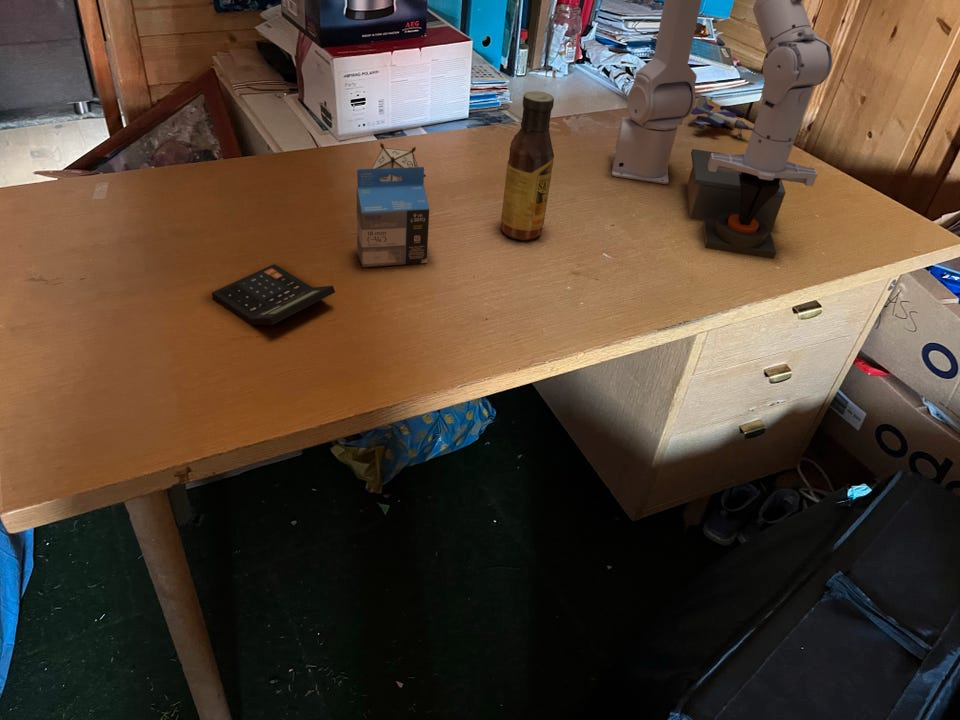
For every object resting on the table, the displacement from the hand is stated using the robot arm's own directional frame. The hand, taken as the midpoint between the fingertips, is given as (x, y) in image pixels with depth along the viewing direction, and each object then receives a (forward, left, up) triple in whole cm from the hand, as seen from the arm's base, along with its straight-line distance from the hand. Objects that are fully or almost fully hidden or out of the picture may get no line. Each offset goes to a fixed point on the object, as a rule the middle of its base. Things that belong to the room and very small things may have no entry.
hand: (743, 221), depth 111 cm
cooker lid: (-1, +11, +2) cm, 11 cm away
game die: (-52, -3, -4) cm, 52 cm away
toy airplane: (+1, +44, -4) cm, 44 cm away
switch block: (0, 0, -3) cm, 3 cm away
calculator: (-59, -34, -4) cm, 68 cm away
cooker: (-1, +11, -3) cm, 12 cm away
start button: (0, 0, -2) cm, 2 cm away
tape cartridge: (-48, -20, -4) cm, 52 cm away
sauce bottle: (-32, -7, -4) cm, 33 cm away
